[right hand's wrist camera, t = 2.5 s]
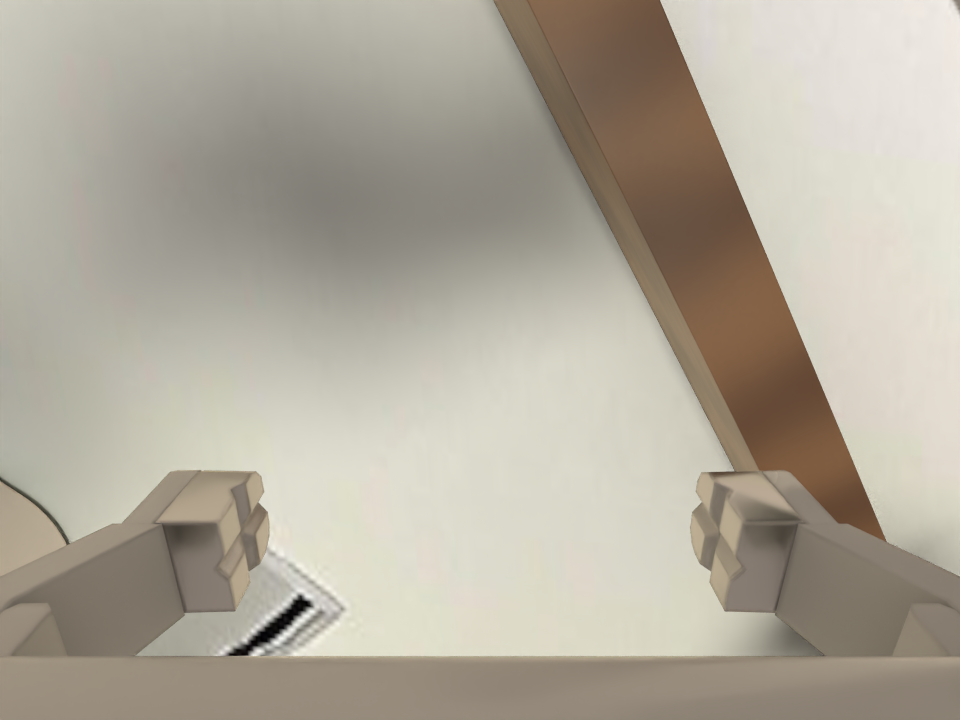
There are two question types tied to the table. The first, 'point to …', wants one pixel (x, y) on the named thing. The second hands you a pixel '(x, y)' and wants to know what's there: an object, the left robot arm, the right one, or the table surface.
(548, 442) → the table surface
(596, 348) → the table surface
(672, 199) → the post
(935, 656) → the right robot arm
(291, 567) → the table surface
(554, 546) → the table surface
